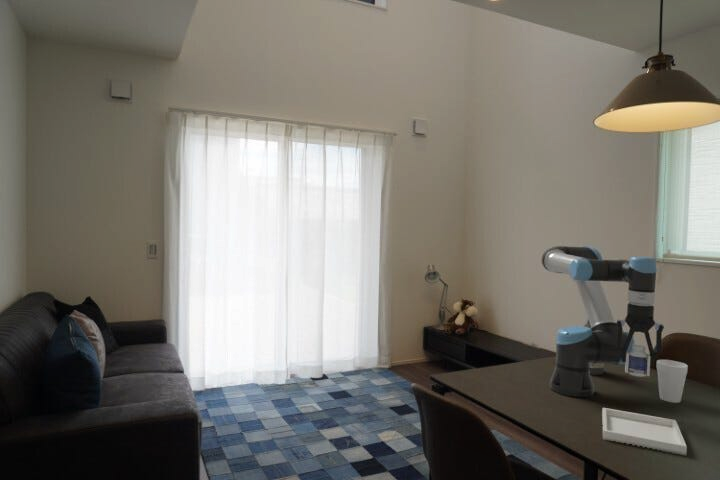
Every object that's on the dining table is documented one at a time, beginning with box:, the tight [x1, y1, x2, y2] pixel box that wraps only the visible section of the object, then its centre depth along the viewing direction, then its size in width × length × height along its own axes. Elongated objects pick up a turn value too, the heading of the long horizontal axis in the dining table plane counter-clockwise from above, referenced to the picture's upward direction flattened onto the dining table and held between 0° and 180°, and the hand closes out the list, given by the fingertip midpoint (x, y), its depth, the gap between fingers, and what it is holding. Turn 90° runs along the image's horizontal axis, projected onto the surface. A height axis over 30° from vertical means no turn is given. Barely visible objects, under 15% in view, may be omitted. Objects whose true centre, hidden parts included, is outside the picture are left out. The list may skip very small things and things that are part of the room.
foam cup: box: [655, 359, 689, 404], centre depth 172 cm, size 10×9×13 cm
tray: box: [601, 407, 688, 456], centre depth 143 cm, size 20×20×2 cm
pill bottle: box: [627, 343, 647, 378], centre depth 160 cm, size 5×5×10 cm
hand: (636, 373), depth 160 cm, fingers closed on pill bottle, 5 cm apart
